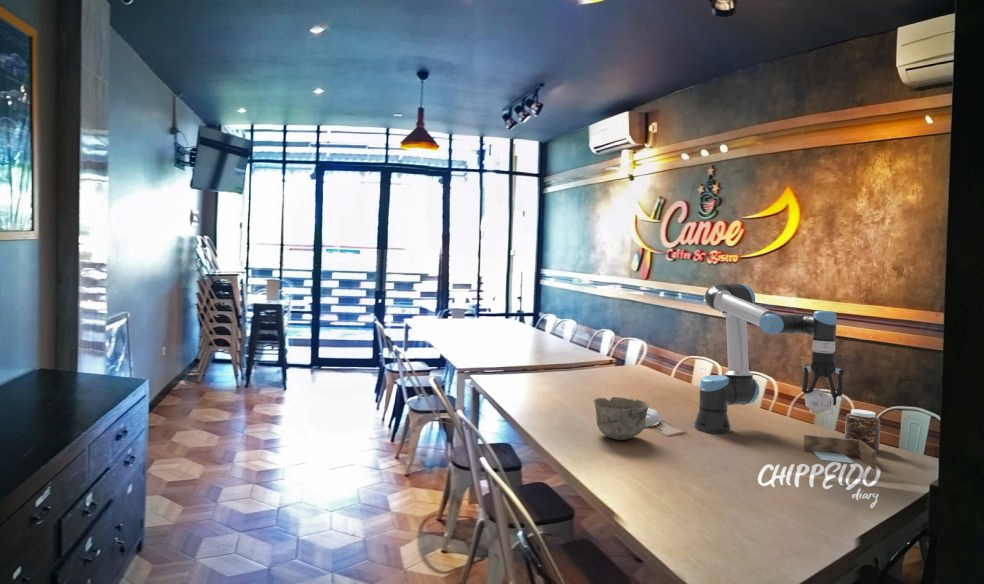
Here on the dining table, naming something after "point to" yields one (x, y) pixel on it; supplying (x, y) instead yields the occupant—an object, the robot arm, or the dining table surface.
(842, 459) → the mat
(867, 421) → the jar
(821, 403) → the die
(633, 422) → the bowl
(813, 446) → the arena
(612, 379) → the dining table surface
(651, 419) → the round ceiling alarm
